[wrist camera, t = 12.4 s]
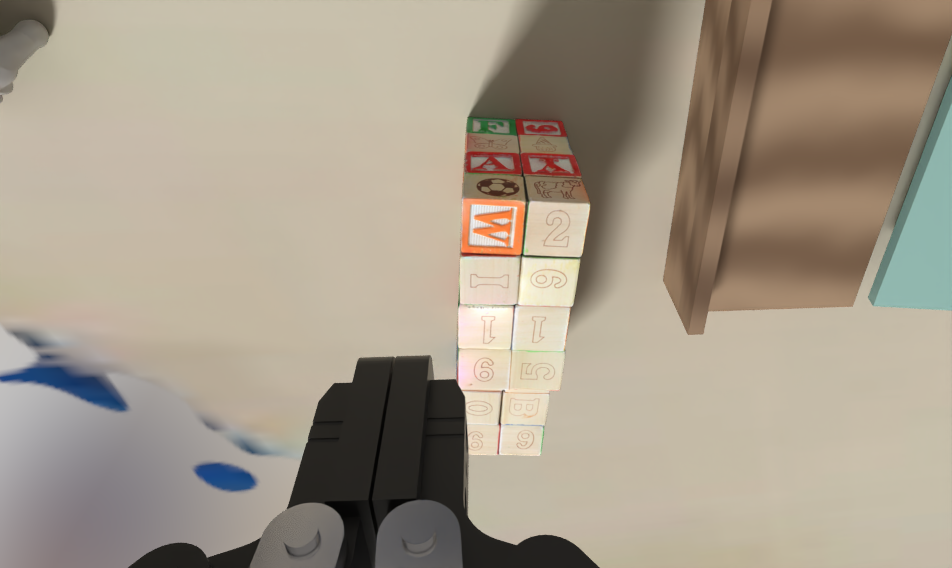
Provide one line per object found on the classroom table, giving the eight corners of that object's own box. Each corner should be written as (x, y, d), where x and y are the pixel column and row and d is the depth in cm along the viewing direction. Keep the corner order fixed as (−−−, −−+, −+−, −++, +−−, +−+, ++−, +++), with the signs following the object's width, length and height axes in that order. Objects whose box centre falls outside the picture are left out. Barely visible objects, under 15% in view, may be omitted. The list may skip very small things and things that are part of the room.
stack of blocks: (530, 370, 52) (544, 494, 41) (455, 367, 51) (450, 491, 41) (563, 117, 40) (593, 203, 30) (465, 113, 40) (462, 198, 29)
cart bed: (713, -53, 34) (758, -38, 29) (934, -63, 34) (1021, -50, 29) (663, 280, 46) (687, 334, 41) (825, 275, 46) (871, 328, 41)
